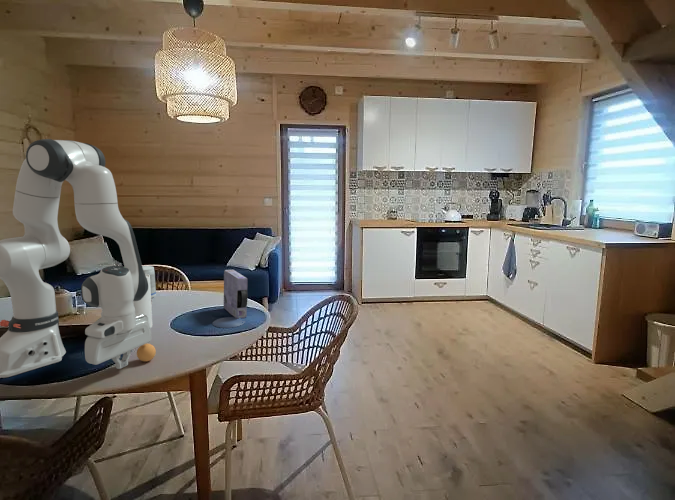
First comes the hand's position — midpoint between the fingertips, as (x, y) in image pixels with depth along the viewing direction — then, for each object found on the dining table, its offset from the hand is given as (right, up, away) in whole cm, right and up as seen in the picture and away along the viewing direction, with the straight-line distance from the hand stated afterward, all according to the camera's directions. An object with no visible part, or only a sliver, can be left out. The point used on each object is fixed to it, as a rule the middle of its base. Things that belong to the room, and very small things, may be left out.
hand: (122, 366), depth 126 cm
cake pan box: (+20, +7, +59) cm, 62 cm away
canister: (-15, +4, +39) cm, 42 cm away
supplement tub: (-30, +11, +81) cm, 87 cm away
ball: (+4, +2, +8) cm, 9 cm away
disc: (+20, +5, +46) cm, 51 cm away
